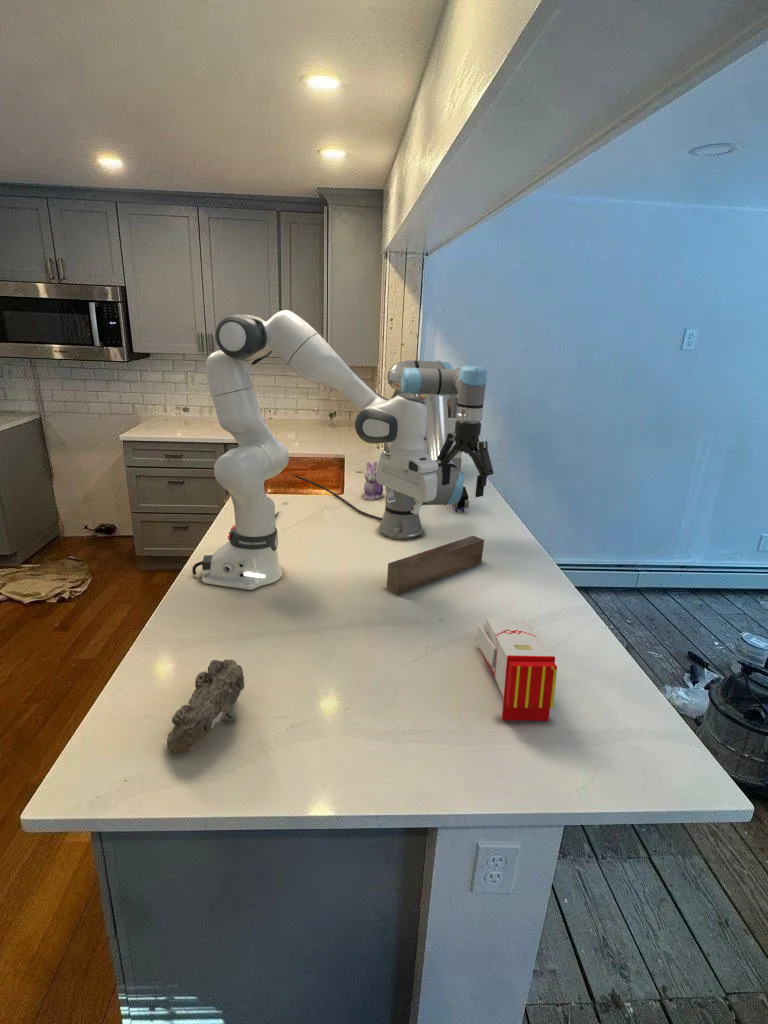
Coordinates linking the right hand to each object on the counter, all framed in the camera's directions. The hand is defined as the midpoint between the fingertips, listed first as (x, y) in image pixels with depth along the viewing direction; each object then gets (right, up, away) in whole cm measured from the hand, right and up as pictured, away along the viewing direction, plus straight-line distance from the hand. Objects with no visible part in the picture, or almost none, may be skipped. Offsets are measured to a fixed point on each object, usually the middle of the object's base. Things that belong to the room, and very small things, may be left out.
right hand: (461, 490), depth 173 cm
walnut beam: (-8, -26, -3) cm, 27 cm away
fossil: (-56, -46, -64) cm, 97 cm away
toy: (+3, -43, -49) cm, 65 cm away
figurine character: (+6, -5, +56) cm, 57 cm away
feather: (-64, -8, +40) cm, 75 cm away
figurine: (-28, 0, +65) cm, 71 cm away
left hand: (-19, -6, -20) cm, 28 cm away
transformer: (-6, +12, +102) cm, 103 cm away
